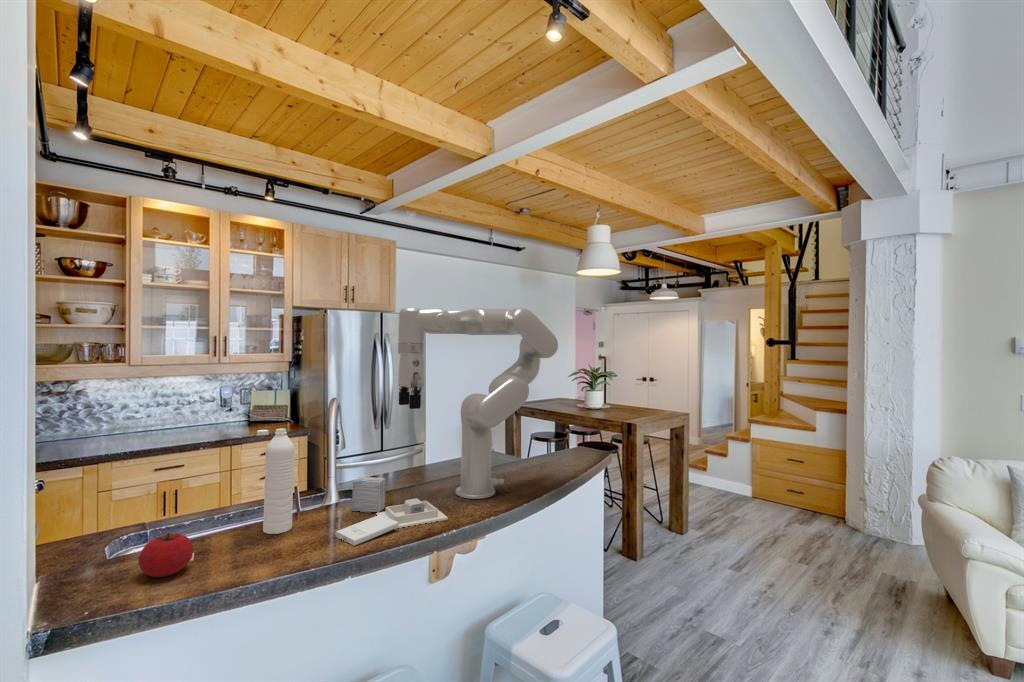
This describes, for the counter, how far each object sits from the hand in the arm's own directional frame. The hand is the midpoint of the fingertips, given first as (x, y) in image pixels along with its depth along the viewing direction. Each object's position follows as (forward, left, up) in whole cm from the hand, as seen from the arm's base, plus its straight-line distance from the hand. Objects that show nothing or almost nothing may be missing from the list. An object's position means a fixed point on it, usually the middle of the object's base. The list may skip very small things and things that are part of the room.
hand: (409, 406), depth 139 cm
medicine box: (+12, +2, -29) cm, 31 cm away
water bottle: (+36, +6, -28) cm, 46 cm away
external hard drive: (+16, +19, -28) cm, 38 cm away
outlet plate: (+3, +13, -28) cm, 31 cm away
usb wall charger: (+3, +13, -28) cm, 31 cm away
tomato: (+56, +20, -28) cm, 66 cm away
